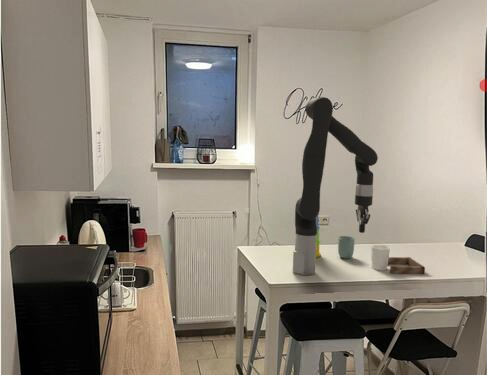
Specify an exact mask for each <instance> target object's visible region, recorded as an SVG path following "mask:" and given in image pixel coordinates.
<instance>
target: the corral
mask: <svg viewBox="0 0 487 375" xmlns="http://www.w3.org/2000/svg"><path fill="white" fill-rule="evenodd" d="M388 265H391V266H390V267H389V274H391V275H425V273H426V272H425V270H426V267H425V266H424V265H422V264H421V263H419V262H418V261H416V260H414V259H413V258H412V257H407V256H405V257H404V256H403V257H401V256H399V257H398V256H397V257H393V256H389V260H388ZM395 265H396V266H395ZM397 265H398V266H397ZM400 265H401V266H400ZM403 265H404V266H403Z"/></svg>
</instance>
